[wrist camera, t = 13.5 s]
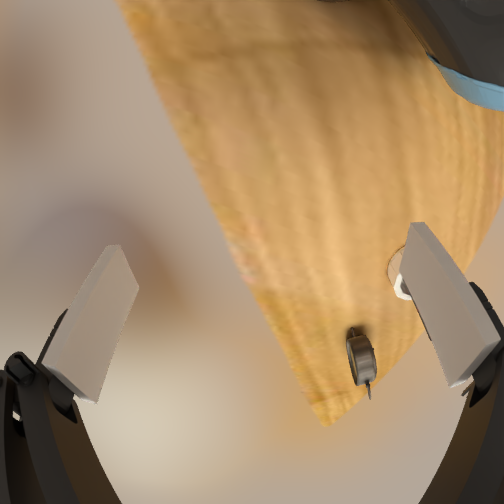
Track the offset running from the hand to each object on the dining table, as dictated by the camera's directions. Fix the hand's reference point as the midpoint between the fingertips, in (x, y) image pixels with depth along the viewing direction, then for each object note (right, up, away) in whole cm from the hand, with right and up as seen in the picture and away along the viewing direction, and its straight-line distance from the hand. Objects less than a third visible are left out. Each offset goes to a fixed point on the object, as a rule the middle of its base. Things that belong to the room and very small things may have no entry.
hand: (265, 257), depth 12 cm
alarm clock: (+24, -19, +47) cm, 56 cm away
